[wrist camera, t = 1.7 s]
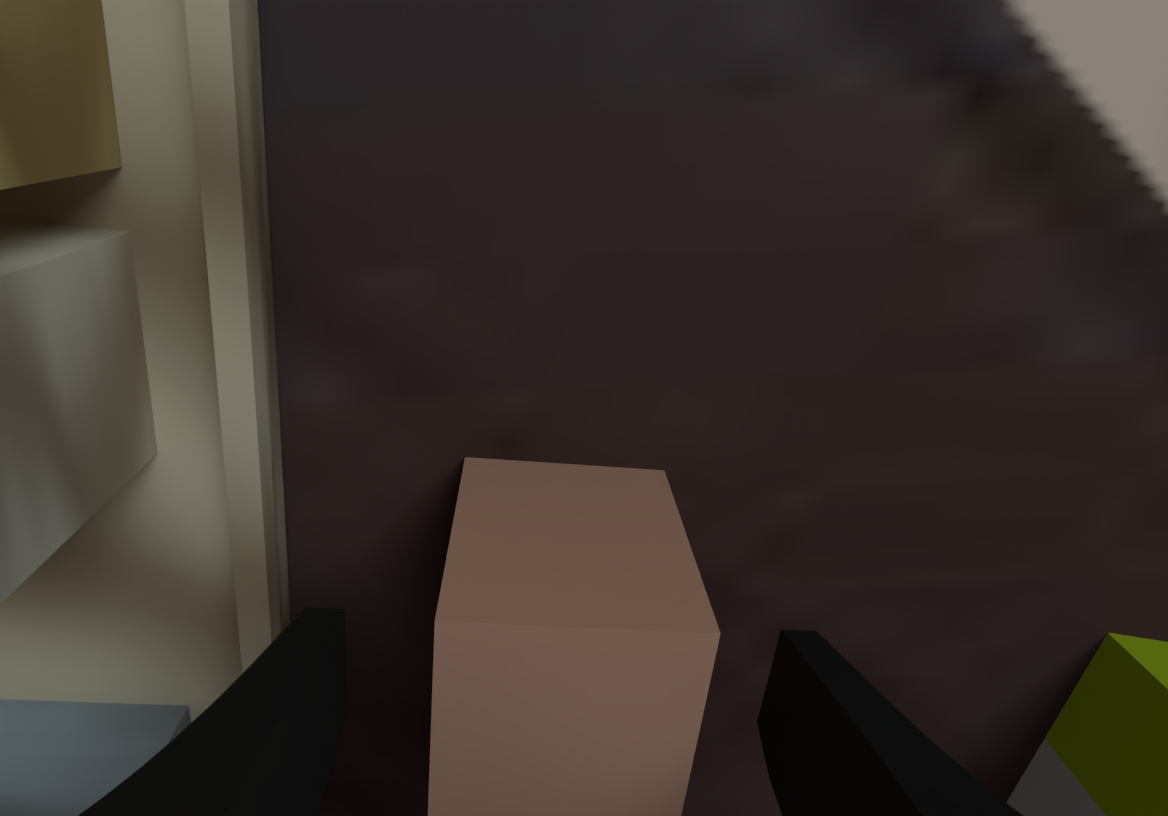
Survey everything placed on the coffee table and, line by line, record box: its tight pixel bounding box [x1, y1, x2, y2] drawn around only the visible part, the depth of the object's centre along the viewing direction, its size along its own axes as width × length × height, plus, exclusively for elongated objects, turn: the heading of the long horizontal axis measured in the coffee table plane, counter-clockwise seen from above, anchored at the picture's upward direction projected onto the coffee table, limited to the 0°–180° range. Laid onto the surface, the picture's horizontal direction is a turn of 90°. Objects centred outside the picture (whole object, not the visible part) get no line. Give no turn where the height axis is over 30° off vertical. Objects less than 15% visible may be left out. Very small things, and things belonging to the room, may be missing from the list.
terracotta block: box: [428, 457, 720, 816], centre depth 13 cm, size 4×4×5 cm
